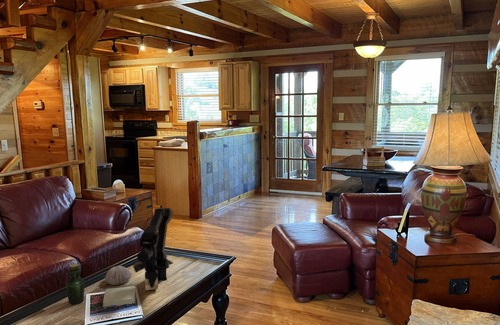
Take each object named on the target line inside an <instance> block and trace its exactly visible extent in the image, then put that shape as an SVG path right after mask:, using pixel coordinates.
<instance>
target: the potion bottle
mask: <svg viewBox="0 0 500 325" xmlns="http://www.w3.org/2000/svg"><path fill="white" fill-rule="evenodd" d="M69 268H70V269H69V270H68V271H67V274H68V275H70V279H68V280H67V281H66V283H65V288H66V292H67V294H66V295H67V301H68V304H70V305H78V304H81V303H83V302H84V300H85V279H84V278H82V277H80V276H79V275H80V273H82V269H81V268H80V267H79V263H71V264H70V265H69Z"/></svg>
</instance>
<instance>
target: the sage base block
mask: <svg viewBox="0 0 500 325" xmlns="http://www.w3.org/2000/svg"><path fill="white" fill-rule="evenodd" d="M103 295H104V296H103V301H102V305H103V306H102V307H104V306H109V305H123V304H132V303H135V304H136V286H135V285H132V286H124V287H115V288H107V289H106V288H105V291H104V294H103Z"/></svg>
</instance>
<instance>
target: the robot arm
mask: <svg viewBox="0 0 500 325" xmlns="http://www.w3.org/2000/svg"><path fill="white" fill-rule="evenodd" d="M173 213H174V211H173V209H172V208H170V207H159V208H158V207H157V208H155V209H154V212H153V216H152V218H151V221H150V222H149V225H148V226H147V227H146V228H144V229H143V232H142V233H141V236H140V241H139V245H138V246H139V247H140V248H141V249H140V251H139V252H138V253H137V255H136V258H137V260H138V261H137V262H134V263H133V265H132V268H133V270H134V271H135V273H138V272H139V271H142V270H144V271H145V272H144V280H145V279H148V280H149V284H150V287H151V288H153V286H154V284H155V281H156V279H157V278H158V282H159V281H160V282H161V281H167V279H168V277H167V269H170V263H169V261H168V260H169V259H168V255H167V253H166V251H165V248H166V240H167V229H168V225H169V223H170V221H171V220H172V216H173Z"/></svg>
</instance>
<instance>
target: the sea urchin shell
mask: <svg viewBox="0 0 500 325" xmlns="http://www.w3.org/2000/svg"><path fill="white" fill-rule="evenodd" d="M131 278H132V273H131V271H130V270H129V269H128V268H126V267H124V266H122V265H117V266H113V267H111V268H110V269H109V270H108V271H107V272H106V274H105V276H104V281H105V282H106V283H107V284H108V285H111V286H117V285H122V284H125V283H126V282H128V281H130V279H131Z"/></svg>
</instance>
